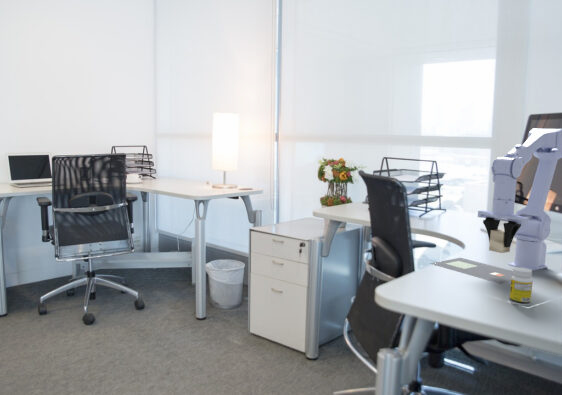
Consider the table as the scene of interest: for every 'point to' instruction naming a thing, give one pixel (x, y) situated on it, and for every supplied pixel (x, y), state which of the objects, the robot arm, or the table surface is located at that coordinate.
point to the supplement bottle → (521, 286)
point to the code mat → (477, 269)
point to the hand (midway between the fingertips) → (499, 245)
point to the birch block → (498, 241)
